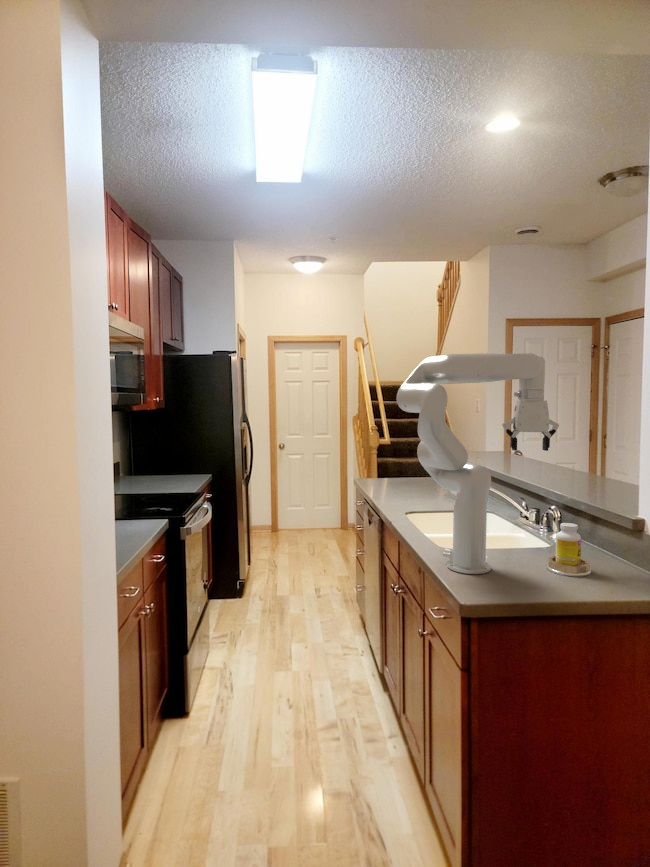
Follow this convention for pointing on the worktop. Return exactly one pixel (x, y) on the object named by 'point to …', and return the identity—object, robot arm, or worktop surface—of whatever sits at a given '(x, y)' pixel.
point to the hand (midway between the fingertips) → (529, 450)
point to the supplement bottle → (568, 545)
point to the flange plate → (569, 568)
